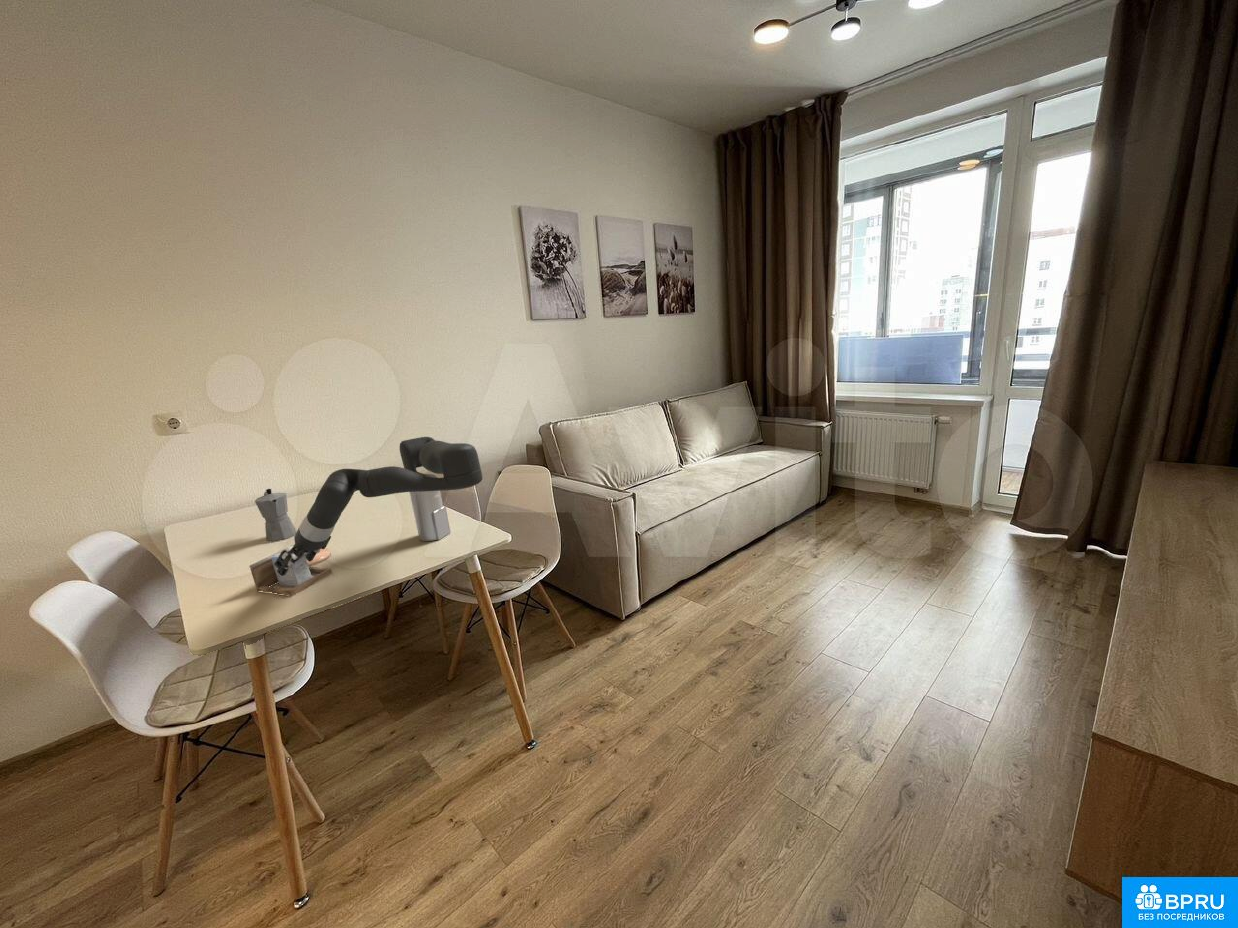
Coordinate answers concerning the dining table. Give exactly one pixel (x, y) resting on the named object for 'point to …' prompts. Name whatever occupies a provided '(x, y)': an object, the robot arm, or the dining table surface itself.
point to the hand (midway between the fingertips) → (295, 565)
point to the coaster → (320, 557)
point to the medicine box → (293, 572)
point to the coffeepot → (275, 516)
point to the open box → (267, 577)
